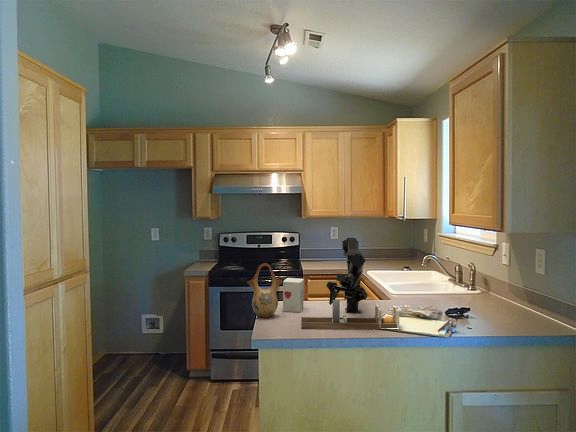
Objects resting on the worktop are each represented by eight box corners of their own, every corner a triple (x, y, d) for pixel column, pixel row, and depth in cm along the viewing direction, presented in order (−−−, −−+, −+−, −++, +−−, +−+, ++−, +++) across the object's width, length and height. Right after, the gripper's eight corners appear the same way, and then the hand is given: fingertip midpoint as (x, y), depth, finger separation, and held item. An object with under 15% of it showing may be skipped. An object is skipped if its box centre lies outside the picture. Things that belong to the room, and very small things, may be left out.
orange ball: (394, 323, 167) (384, 326, 167) (391, 313, 167) (381, 316, 167) (396, 326, 163) (386, 329, 163) (393, 316, 163) (383, 319, 163)
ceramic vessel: (247, 319, 175) (247, 265, 174) (247, 314, 184) (247, 262, 183) (283, 318, 176) (283, 264, 175) (281, 313, 185) (281, 261, 184)
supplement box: (282, 311, 188) (282, 281, 188) (286, 306, 197) (286, 277, 196) (300, 312, 186) (300, 281, 186) (304, 307, 195) (304, 278, 194)
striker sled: (331, 323, 169) (331, 298, 168) (345, 323, 168) (345, 298, 168) (332, 327, 163) (332, 301, 163) (347, 328, 163) (347, 301, 162)
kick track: (301, 322, 171) (301, 303, 170) (394, 323, 169) (394, 304, 169) (301, 328, 162) (301, 308, 162) (399, 329, 161) (399, 309, 161)
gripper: (328, 263, 175) (313, 292, 168) (364, 268, 162) (349, 299, 155) (338, 278, 181) (324, 306, 174) (373, 284, 169) (359, 314, 161)
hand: (338, 306), depth 166 cm, fingers open, 9 cm apart
